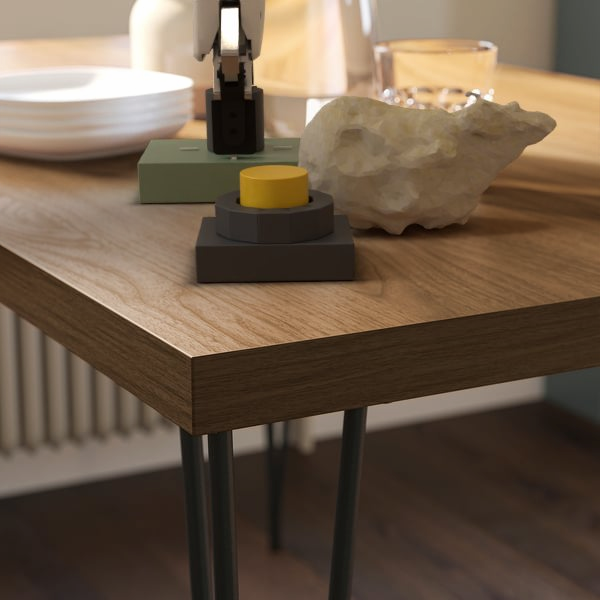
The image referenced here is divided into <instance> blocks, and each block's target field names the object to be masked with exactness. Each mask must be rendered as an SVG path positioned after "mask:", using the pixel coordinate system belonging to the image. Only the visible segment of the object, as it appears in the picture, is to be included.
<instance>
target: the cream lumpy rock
mask: <svg viewBox="0 0 600 600" xmlns="http://www.w3.org/2000/svg"><path fill="white" fill-rule="evenodd" d="M471 96H473V97H475V99H476V101H475V102H473V103H471V104H469V105H468V106H466V107H463V108H461V109H459V110H456V111H453V112H452V111H451V112H448V111H447V110H446V109H444V108H434V109H433V108H431V109H430V108H429V109H428V108H424V109H423V108H422V109H419V108H410V107H403V106H400V105H396V104H388V103H387V102H384V101H382V100H378V99H375V98H371V97H368V96H357V95H348V96H339V97H336V98H334V99H332V100H331V101H329V102H327V103H325V104H323V106H321V108H320V109H319V110H318V111H317V112H316V113H315V114H314V116H313V117H312V119H311V120H310V121H309V122H308V123H307V124H306V126H304V129H303V130H302V133H301V135H300V137H299V138H300V147H299V163H298V167H301V168H304V169H306V170H307V171H308V189H312V190H317V191H320V192H323V193H326V194H329V195H331V196H332V197H333V202H334V215H347V216H348V220H349V224H350V228H355V229H358V230H367V229H371V228H377V229H381V230H384V231H386V232H387V233H388V234H390V235H397V236H400V235H401V234H402V233H403V231H404V230H405V229H406V228H407V227H408V226H410V225H414V224H417V225H419V226H422V227H423V228H424V229H427V230H432V229H440V230H442V229H443V228H445V227H447V226H450V225H452V224H457V225H460V226H463V225H465V224H466V223H467V222H468V220H469V218H470V216H471V214H472V213H474V212H475V210H476V209H477V208H478V205H479V202H480V198H481V196H482V194H483V193H485V191H486V190H487V189H488V188H489V187H490V186H491V185H492V184H493V183H494V182H495V181H496V179H497V177H498V175H499V173H500V172H501V171H504V170H505V169H506V168H507V167H508V166H509V165H510V164H512V163H513V162H515V161H516V160H518V159H519V157H520V156H521V155H522V154H523V152H524V151H525V150H526V148H527V147H530V146H532V145H536V144H538V143H540V142H542V141H543V140H544V139H545V138H546V137H547V136H548V135H550V134H551V133H552V132H553V131H554V130H555V129H556V128H557V125H558V124H557V120H556V119H554V118H553V117H552V116H550V114H548V113H545V112H542V111H539V110H536V111H529V110H528V111H527V110H525V109H523V108H521V106H520V103H519V102H518V101H516V100H513V101H511V102H507V103H506V104H505V105H503V104H500V103H498V102H494V101H490V100H488V99H484V98H482V97H481V94H479V93H475V92H472V91H465V93H464V97H466V98H470V97H471Z"/></svg>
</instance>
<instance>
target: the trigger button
mask: <svg viewBox="0 0 600 600" xmlns="http://www.w3.org/2000/svg"><path fill="white" fill-rule="evenodd" d="M240 204H241V205H242V206H246V207H254V208H263V209H264V208H290V207H297V206H304V205H306V204H309V198H308V171H307V170H306V169H304V168H301V167H296V166H286V165H266V166H256V167H251V168H247V169H244V170H242V171H241V172H240Z"/></svg>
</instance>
